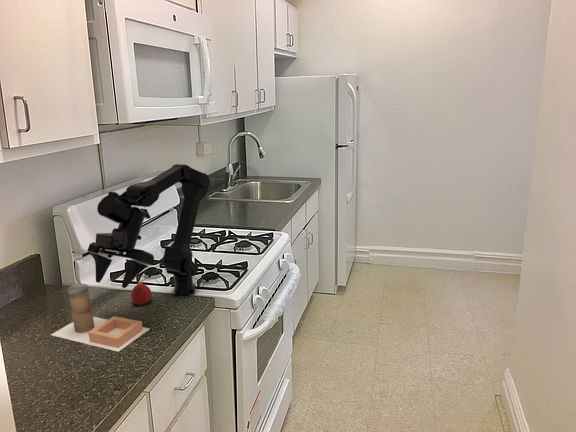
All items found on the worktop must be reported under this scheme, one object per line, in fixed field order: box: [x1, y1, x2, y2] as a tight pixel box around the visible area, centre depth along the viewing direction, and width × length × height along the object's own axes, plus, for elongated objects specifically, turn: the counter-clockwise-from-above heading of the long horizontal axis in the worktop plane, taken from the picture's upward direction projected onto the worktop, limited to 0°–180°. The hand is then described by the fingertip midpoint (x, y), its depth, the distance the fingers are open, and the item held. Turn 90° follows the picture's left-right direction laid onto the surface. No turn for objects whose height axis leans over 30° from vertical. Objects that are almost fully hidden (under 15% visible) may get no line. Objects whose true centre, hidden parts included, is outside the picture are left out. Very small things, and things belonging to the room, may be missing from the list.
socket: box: [88, 315, 144, 348], centre depth 128 cm, size 9×9×2 cm
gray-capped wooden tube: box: [67, 283, 94, 333], centre depth 131 cm, size 5×5×12 cm
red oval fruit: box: [130, 280, 152, 306], centre depth 147 cm, size 6×6×8 cm
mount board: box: [50, 316, 150, 353], centre depth 131 cm, size 23×12×1 cm, turn 66°
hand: (110, 285), depth 128 cm, fingers open, 9 cm apart
